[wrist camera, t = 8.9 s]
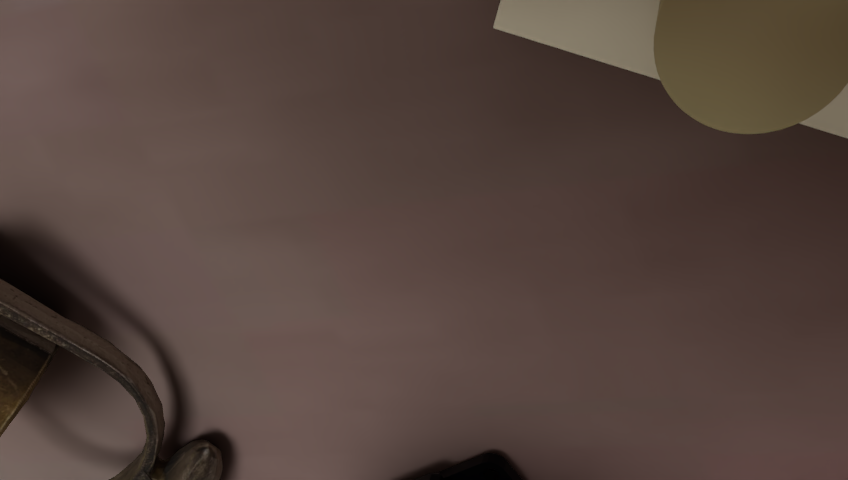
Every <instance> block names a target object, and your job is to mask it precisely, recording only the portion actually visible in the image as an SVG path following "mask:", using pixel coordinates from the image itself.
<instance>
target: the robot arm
mask: <svg viewBox="0 0 848 480" xmlns="http://www.w3.org/2000/svg"><path fill="white" fill-rule="evenodd" d="M488 468H491V469H495V470H496V471H497V472H493V471H490V470H489V469H488ZM415 480H522V479H521V477H520V476H519V475H518V474H517V473H516V471H515V470H514V469H513V468H512V466H511V465H510V464H509V463H508V462H507V460H505V459H504V458H503V457H502V456H500V455H498V454H493V453H488V454H483V455H481V456H479V457H476V458H474V459H471V460H469V461H466V462H464V463H461V464H459V465H456V466H454V467H451V468H449V469H446V470H444V471H441V472H439V473H429V474H427V475H425V476H422V477H420V478H417V479H415Z"/></svg>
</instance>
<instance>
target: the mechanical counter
mask: <svg viewBox="0 0 848 480" xmlns="http://www.w3.org/2000/svg"><path fill="white" fill-rule="evenodd" d="M59 346H61V347H63V348H65V349H66V350H68V351H70V352H72V353H73V354H75V355H77V356H78V357H80V358H82V359H83V360H85V361H87V362H89V363H91V364H93V365H94V366H96V367H98V368H100V369H102V370H103V371H105V372H106V373H107V374H109V375H110V376H111V377H113V378H114V379H115V380H117V381H118V382H119V383H120V384H121V385H122V386H123V387H124V388H125V389H126V390H127V391H128V392H129V393H130V394H131V395H132V396H133V398H134V399H135V400H136V402H137V404H138V406H139V408H140V410H141V412H142V414H143V417H144V422H145V428H146V434H147V439H146V444H145V446H144V449H143V451H142V453H141V454H140V455H139V456H138V457H137V458H136V459H135V460H134V461H133V462H132V463H131V464H130V465H128V466H127V467H126V468H125V469H124V470H122V471H121V472H120V473H119V474H118V475H116V476H115V477H113V478H111V479H109V480H220V478H221V474H222V470H223V464H222V456H221V451H220V450H219V449H218V448H217V447H215V446H214V445H213V444H211V443H210V442H209V441H207V440H197V441H192V442H191V443H189V444H187V445H186V446H184V447H183V448H181V449H180V450H178V451H177V452H176V453H175V454H174V455H173V456H172V457H170V458H168V459H166V460H162V459H160V458H159V457H158V453H159V451H160V448H161V444H162V440H163V436H164V427H165V421H164V417H163V408H162V403H161V401H160V399H159V397H158V395H157V393H156V391H155V389H154V386H153V384H152V382H151V381H150V379H149V378H148V376H147V375H146V374H145V372H144V371H143V370H142V369H141V367H140V366H138V365H137V364H136V363H135V362H134V361H132V360H131V359H130V358H129V357H127V356H126V355H125V354H124V353H123V352H121V351H120V350H119V349H118V348H116V347H115V346H114V345H113V344H112V343H110V342H109V341H107V340H105V339H104V338H102V337H100V336H99V335H97V334H95V333H93V332H92V331H90V330H88V329H87V328H85V327H83V326H82V325H79V324H77V323H75V322H73V321H71V320H69V319H67V318H65V317H63V316H61V315H59V314H58V313H56V312H54V311H53V310H51V309H50V308H48V307H46V306H45V305H43V304H41V303H40V302H38V301H37V300H35V299H33V298H32V297H30V296H29V295H27V294H25V293H24V292H22V291H20V290H19V289H17V288H15V287H14V286H12V285H10V284H9V283H7V282H5V281H3V280H2V279H0V437H1V435H2V434H3V432H4V431H5V430H6V428H7V427H8V426H9V424H10V423H11V422H12V420H13V419H14V418H15V416H16V415H17V414H18V412H19V411H20V410H21V408H22V407H23V406H24V404H25V403H26V402H27V400H28V399H29V397H30V395H31V393H32V391H33V389H34V388H35V386H36V385H37V383H38V381H39V380H40V378H41V377H42V375H43V373H44V372H45V370H46V369H47V367H48V365H49V363H50V361H51V359H52V358H53V356H54V355H55V353H56V352H57V350H58V348H59Z"/></svg>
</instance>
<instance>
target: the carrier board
mask: <svg viewBox="0 0 848 480" xmlns="http://www.w3.org/2000/svg"><path fill="white" fill-rule="evenodd" d="M493 28H494V29H498V30H501V31H504V32H507V33H511V34H514V35H517V36H520V37H523V38H527V39H530V40H533V41H536V42H539V43H543V44H546V45H549V46H552V47H555V48H559V49H562V50H565V51H568V52H571V53H575V54H578V55H581V56H584V57H588V58H591V59H594V60H597V61H600V62H604V63H607V64H610V65H613V66H616V67H620V68H623V69H626V70H629V71H632V72H636V73H639V74H642V75H645V76H649V77H652V78H655V79H658V80H661V83H662V85H663V86H664V88H665V90H666V92H667V93H668V95H669V96H670V97H671V99H672V100H673V101H674V102H675V104H676V105H677V106H678V107H679V108H680V109H682V110H683V111H684V112H685V113H686V114H688V115H689V116H690V117H692V118H693V119H695V120H697V121H698V122H700V123H702V124H704V125H706V126H709V127H711V128H714V129H717V130H721V131H725V132H729V133H737V134H760V133H769V132H773V131H778V130H782V129H785V128H787V127H790V126H793V125H796V124H798V123H799V124H803V125H806V126H809V127H812V128H815V129H819V130H822V131H825V132H828V133H831V134H835V135H838V136H841V137H844V138H847V139H848V0H501V1H500V4H499V8H498V12H497V15H496V19H495V23H494V26H493Z"/></svg>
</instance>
